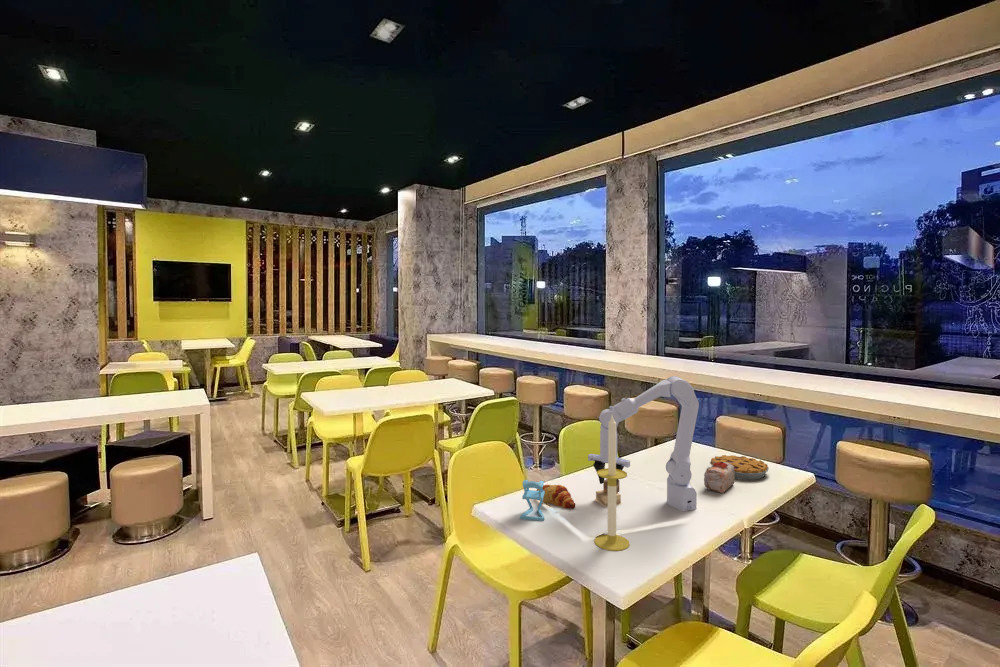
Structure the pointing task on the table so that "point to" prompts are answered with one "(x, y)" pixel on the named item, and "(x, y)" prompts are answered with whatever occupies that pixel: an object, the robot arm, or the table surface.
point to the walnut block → (605, 486)
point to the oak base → (606, 498)
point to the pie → (744, 466)
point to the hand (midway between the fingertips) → (608, 484)
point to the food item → (719, 477)
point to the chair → (533, 495)
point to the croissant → (557, 496)
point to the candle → (612, 496)
